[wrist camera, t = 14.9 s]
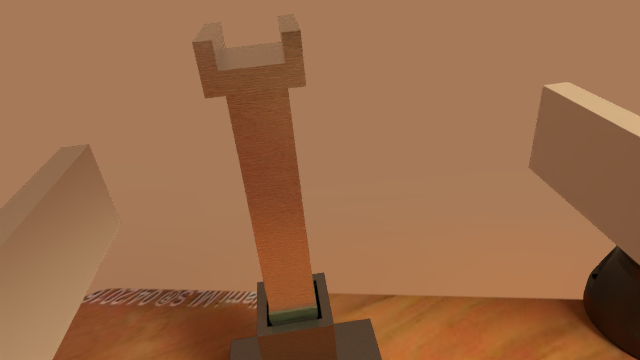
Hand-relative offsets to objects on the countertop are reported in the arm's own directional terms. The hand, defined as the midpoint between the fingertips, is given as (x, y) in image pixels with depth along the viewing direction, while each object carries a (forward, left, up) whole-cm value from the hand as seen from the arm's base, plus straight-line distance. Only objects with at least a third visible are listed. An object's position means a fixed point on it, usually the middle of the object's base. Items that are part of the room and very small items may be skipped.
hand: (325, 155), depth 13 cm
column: (+2, -15, -26) cm, 30 cm away
